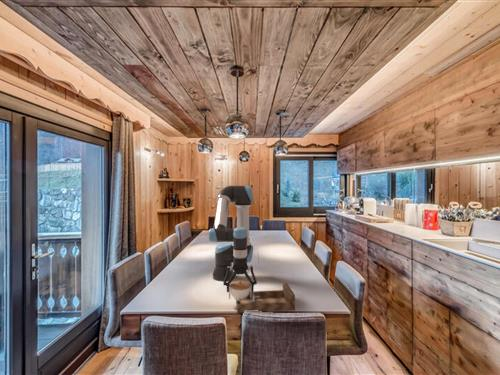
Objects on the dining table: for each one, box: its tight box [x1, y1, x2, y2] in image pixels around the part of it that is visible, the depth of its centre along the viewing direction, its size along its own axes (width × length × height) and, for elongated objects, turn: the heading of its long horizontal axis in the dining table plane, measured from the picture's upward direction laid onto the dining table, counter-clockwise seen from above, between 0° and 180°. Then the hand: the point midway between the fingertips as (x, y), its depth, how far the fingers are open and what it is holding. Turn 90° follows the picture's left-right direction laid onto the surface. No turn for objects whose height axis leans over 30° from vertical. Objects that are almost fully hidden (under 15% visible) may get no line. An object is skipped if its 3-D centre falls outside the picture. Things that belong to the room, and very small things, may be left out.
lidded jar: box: [230, 280, 251, 301], centre depth 140 cm, size 11×11×9 cm
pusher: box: [250, 290, 261, 303], centre depth 141 cm, size 5×13×7 cm, turn 6°
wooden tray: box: [235, 282, 296, 314], centre depth 142 cm, size 30×16×8 cm, turn 96°
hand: (240, 297), depth 140 cm, fingers closed on lidded jar, 11 cm apart
